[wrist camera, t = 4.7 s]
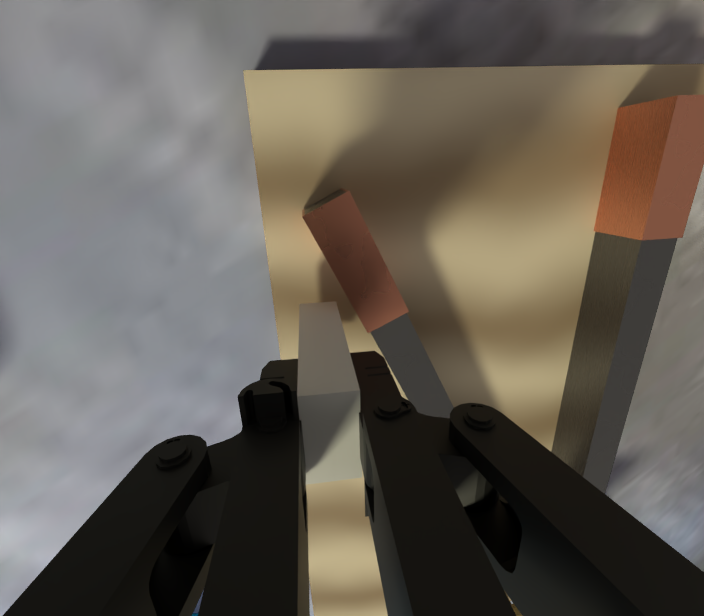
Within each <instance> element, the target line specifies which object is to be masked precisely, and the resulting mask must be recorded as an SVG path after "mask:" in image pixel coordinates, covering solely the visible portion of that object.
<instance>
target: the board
mask: <svg viewBox="0 0 704 616" xmlns="http://www.w3.org/2000/svg"><path fill="white" fill-rule="evenodd" d="M243 72H244V80H245V88H246V95H247V103H248V111H249V118H250V126H251V134H252V141H253V149H254V157H255V165H256V172H257V180H258V188H259V195H260V203H261V211H262V218H263V226H264V234H265V241H266V249H267V257H268V264H269V272H270V280H271V287H272V295H273V303H274V310H275V318H276V326H277V334H278V341H279V349H280V357H281V360H287V359H298V343H299V304H305V303H319V302H333V301H336V303H337V307H338V311H339V314H340V318H341V322H342V325H343V329H344V333H345V337H346V340H347V344H348V348H349V351H350V353H354V352H365V351H376V352H377V353H379V354H380V355H381V356H383V354H382V352H381V351H380V349H379V347H378V345H377V343H376V342H375V340H374V338H373V336H372V334H371V333H367V331H366V329H365V327H364V326H363V324H362V322H361V320H360V319H359V317H358V315H357V313H356V311H355V310H354V308H353V306H352V304H351V303H350V301H349V299H348V297H347V296H346V294H345V292H344V290H343V288H342V287H341V285H340V283H339V281H338V280H337V278H336V276H335V274H334V272H333V271H332V269H331V267H330V265H329V264H328V262H327V260H326V258H325V256H324V255H323V253H322V251H321V249H320V248H319V246H318V244H317V242H316V241H315V239H314V237H313V235H312V233H311V232H310V230H309V228H308V226H307V225H306V223H305V221H304V219H303V217H302V210H303V209H305V208H307V207H309V206H310V205H312V204H314V203H316V202H318V201H319V200H321V199H323V198H325V197H327V196H328V195H330V194H332V193H334V192H335V191H337V190H339V189H341V188H343V189H346V190H349V191H350V193H351V195H352V197H353V199H354V201H355V203H356V205H357V207H358V209H359V211H360V213H361V215H362V217H363V219H364V221H365V223H366V225H367V227H368V229H369V231H370V233H371V235H372V238H373V240H374V242H375V244H376V246H377V248H378V250H379V252H380V254H381V256H382V258H383V260H384V262H385V264H386V266H387V268H388V270H389V272H390V274H391V276H392V278H393V280H394V282H395V284H396V286H397V288H398V290H399V292H400V294H401V296H402V298H403V300H404V302H405V304H406V306H407V308H408V310H409V312H407V315H408V317H409V319H410V321H411V323H412V325H413V327H414V329H415V331H416V333H417V335H418V337H419V339H420V341H421V343H422V345H423V347H424V349H425V351H426V353H427V355H428V357H429V359H430V361H431V363H432V365H433V367H434V369H435V371H436V373H437V375H438V377H439V379H440V381H441V383H442V385H443V387H444V389H445V391H446V393H447V395H448V397H449V399H450V401H451V403H452V405H453V407H456V406H458V405H460V404H465V403H479V404H484V405H487V406H490V407H493V408H495V409H496V410H498V411H500V412H501V413H503V414H504V415H505V416H506V417H508V418H509V419H510V420H511V421H513V422H514V423H515V424H517V425H518V426H519V427H520V428H522V429H523V430H524V431H525V432H527V433H528V434H529V435H530V436H532V437H533V438H534V439H536V440H537V441H538V442H539V443H541V444H542V445H543V446H544V447H546V448H547V449H548V450H549V451H552V446H553V441H554V436H555V431H556V426H557V421H558V416H559V411H560V406H561V401H562V396H563V391H564V386H565V381H566V376H567V371H568V366H569V361H570V356H571V351H572V346H573V341H574V336H575V331H576V326H577V321H578V316H579V311H580V306H581V301H582V296H583V291H584V286H585V281H586V276H587V271H588V266H589V261H590V256H591V251H592V246H593V241H594V236H595V231H594V226H595V221H596V216H597V211H598V206H599V201H600V196H601V191H602V186H603V181H604V176H605V171H606V166H607V161H608V156H609V150H610V145H611V140H612V135H613V130H614V125H615V120H616V115H617V110H618V108H620V107H625V106H630V105H634V104H639V103H644V102H648V101H653V100H658V99H663V98H667V97H672V96H677V95H704V64H654V65H585V66H516V67H447V68H378V69H309V70H243ZM383 357H384V356H383ZM385 361H386V359H385ZM386 363H387V361H386ZM387 365H388V363H387ZM388 367H389V365H388ZM389 369H390V372H391V374H392V376H393V378H394V381H395V383H396V385H397V387H398V389H399V392H400V394H401V396H402V397H403V398H405V399H407V397H406V395H405V393H404V392H403V390H402V388H401V386H400V384H399V383H398V381H397V379H396V377H395V376H394V374H393V372H392V370H391V368H390V367H389ZM407 400H408V399H407ZM306 493H307V504H308V560H309V579H310V587H311V595H312V602H313V610H314V616H388V614H387V609H386V603H385V598H384V593H383V588H382V582H381V577H380V572H379V567H378V562H377V556H376V551H375V546H374V541H373V536H372V530H371V525H370V520H369V516H367V517H365V489H364V475H363V470H362V478H354V479H347V480H339V481H331V482H323V483H315V484H308V485H306ZM507 596H508V595H507ZM508 598H509V596H508ZM509 600H510V601H511V599H510V598H509Z"/></svg>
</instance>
